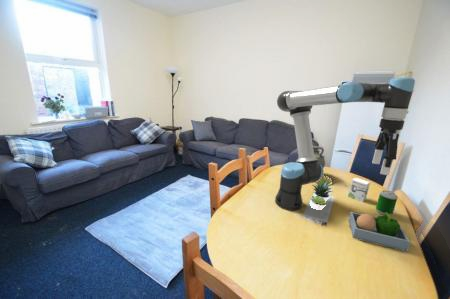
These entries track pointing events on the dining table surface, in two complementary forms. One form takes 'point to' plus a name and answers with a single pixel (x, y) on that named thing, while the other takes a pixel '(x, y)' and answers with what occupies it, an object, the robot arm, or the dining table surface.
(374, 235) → the tray
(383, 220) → the bell pepper
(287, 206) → the robot arm
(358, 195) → the ink box
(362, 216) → the egg
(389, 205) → the soda can
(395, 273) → the dining table surface
